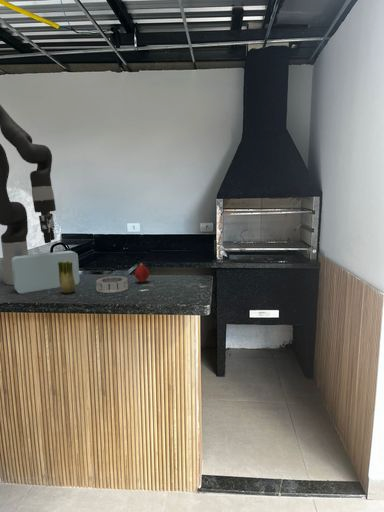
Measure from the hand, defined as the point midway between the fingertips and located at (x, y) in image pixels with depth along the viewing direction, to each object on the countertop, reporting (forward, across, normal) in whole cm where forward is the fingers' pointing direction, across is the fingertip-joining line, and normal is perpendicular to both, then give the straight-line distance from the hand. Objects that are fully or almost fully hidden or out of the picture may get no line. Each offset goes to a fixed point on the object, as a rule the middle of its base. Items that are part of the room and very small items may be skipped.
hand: (50, 241), depth 131 cm
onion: (+20, +2, +34) cm, 39 cm away
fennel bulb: (+19, +10, +5) cm, 22 cm away
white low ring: (+20, +8, +22) cm, 30 cm away
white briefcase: (+18, 0, -3) cm, 19 cm away
